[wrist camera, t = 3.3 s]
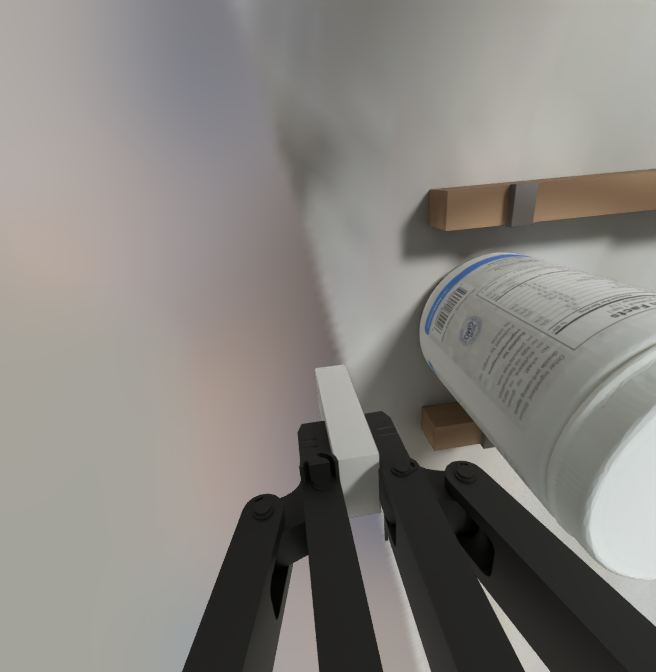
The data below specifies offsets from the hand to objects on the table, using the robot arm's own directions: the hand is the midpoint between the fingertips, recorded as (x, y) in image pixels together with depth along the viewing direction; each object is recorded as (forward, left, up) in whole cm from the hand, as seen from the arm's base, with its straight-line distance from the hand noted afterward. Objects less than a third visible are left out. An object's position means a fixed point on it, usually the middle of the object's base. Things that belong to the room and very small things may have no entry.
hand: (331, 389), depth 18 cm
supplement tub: (0, +11, -6) cm, 13 cm away
